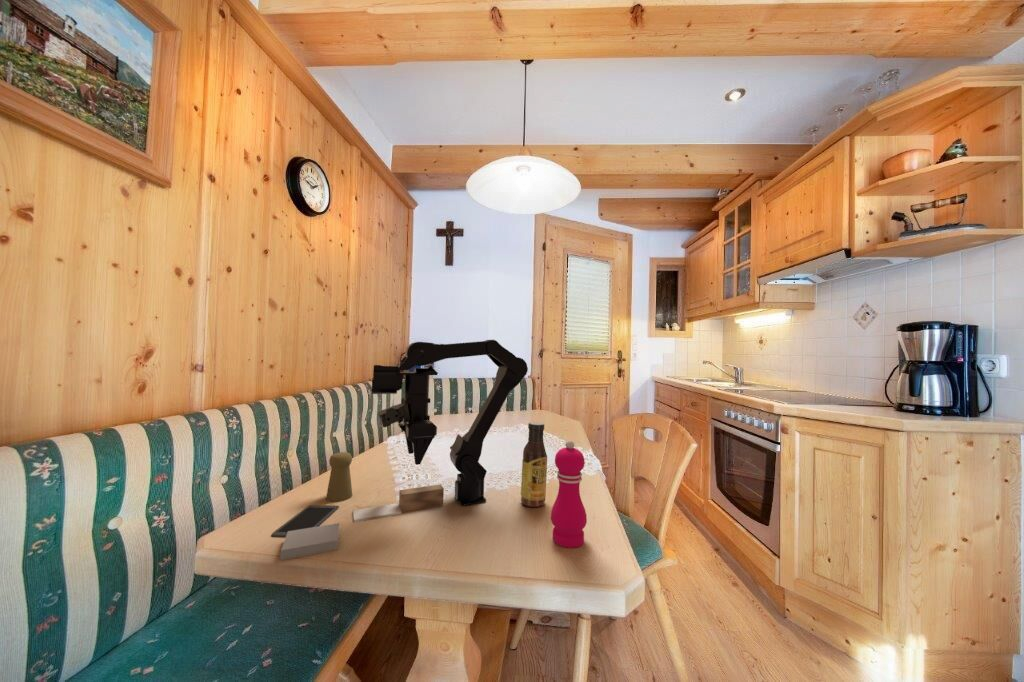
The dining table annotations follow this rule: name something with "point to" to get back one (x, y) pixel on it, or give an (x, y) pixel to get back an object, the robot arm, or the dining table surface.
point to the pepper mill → (569, 498)
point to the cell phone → (306, 519)
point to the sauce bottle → (534, 467)
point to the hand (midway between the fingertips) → (414, 458)
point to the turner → (404, 503)
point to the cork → (339, 477)
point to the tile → (310, 541)
